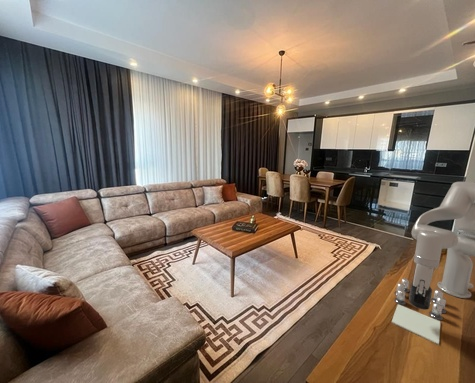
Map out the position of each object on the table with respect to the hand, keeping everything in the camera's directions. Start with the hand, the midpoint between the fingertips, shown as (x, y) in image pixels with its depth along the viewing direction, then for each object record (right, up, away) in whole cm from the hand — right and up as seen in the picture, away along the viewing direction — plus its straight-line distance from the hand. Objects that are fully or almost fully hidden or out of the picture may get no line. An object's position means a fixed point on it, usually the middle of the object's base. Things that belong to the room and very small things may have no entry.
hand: (419, 298), depth 88 cm
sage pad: (0, -12, +2) cm, 12 cm away
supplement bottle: (0, -3, +1) cm, 3 cm away
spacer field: (+12, -10, +15) cm, 22 cm away
